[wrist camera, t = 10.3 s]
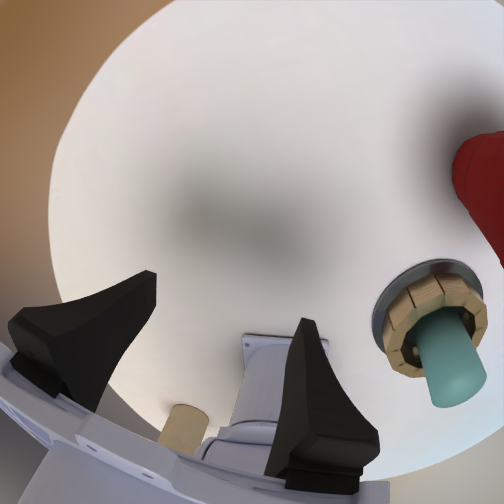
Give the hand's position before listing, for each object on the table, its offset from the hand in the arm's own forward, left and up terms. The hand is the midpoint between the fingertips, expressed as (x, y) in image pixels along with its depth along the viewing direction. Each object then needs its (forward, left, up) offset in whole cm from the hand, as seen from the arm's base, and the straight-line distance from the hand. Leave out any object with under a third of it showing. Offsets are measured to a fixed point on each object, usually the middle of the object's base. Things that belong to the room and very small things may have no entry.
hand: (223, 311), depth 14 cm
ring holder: (-7, -15, -9) cm, 19 cm away
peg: (-7, -15, -9) cm, 19 cm away
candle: (-28, +11, -10) cm, 32 cm away
